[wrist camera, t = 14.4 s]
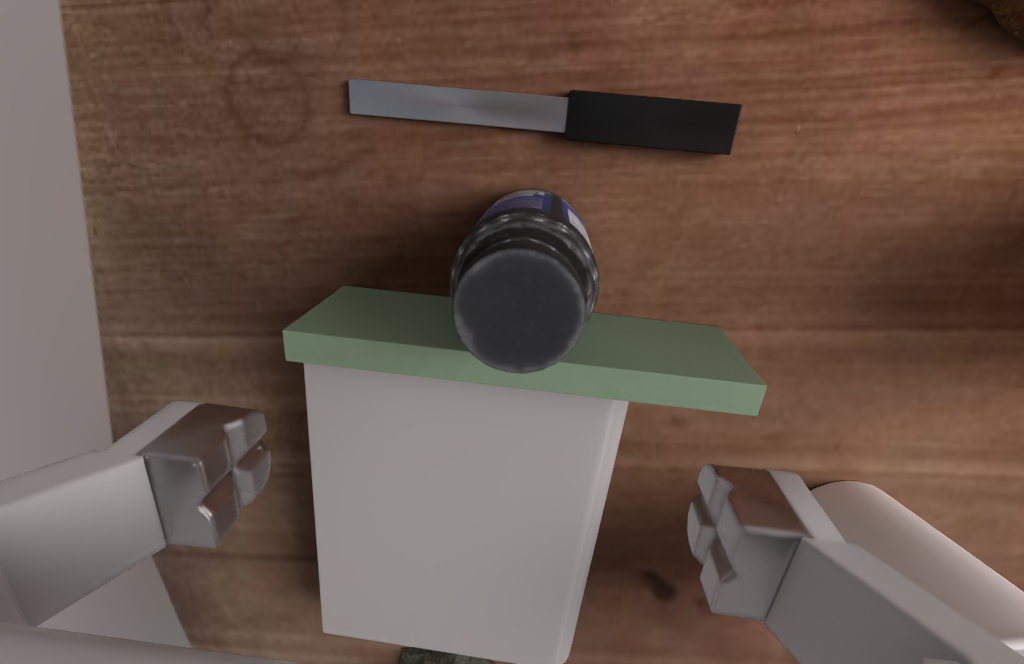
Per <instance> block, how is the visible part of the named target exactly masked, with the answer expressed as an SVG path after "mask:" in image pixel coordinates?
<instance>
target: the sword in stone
mask: <svg viewBox="0 0 1024 664" xmlns="http://www.w3.org/2000/svg"><path fill="white" fill-rule="evenodd" d="M399 664H494V663H492V662H490V661H488V660H486V659H484V658H478V657H472V656H466V655H460V654H454V653H447V652H441V651H435V650H429V649H423V648H403V649H402V653H401V658H400V662H399Z"/></svg>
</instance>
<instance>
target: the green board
mask: <svg viewBox="0 0 1024 664" xmlns="http://www.w3.org/2000/svg"><path fill="white" fill-rule="evenodd" d="M452 302H453V301H452V298H451V297H444V296H435V295H426V294H417V293H408V292H398V291H389V290H380V289H371V288H362V287H353V286H343V287H341V288H340V289H339V290H337V291H336V292H334V293H333V294H332V295H330V296H329V297H328V298H326V299H325V300H323V301H322V302H321V303H319V304H318V305H317V306H315V307H314V308H312V309H311V310H310V311H308V312H307V313H306V314H304V315H303V316H301V317H300V318H299V319H297V320H296V321H295V322H293V323H292V324H290V325H289V326H288V327H286V328H285V329H284V330H282V333H283V342H284V351H285V360H286V361H291V362H300V363H308V364H317V365H325V366H334V367H342V368H351V369H359V370H368V371H376V372H385V373H393V374H402V375H410V376H419V377H427V378H436V379H444V380H453V381H461V382H470V383H478V384H487V385H495V386H504V387H512V388H521V389H529V390H538V391H546V392H555V393H563V394H572V395H580V396H589V397H597V398H606V399H614V400H623V401H631V402H640V403H648V404H657V405H665V406H674V407H682V408H690V409H699V410H707V411H716V412H724V413H733V414H741V415H750V416H757V415H758V412H759V409H760V406H761V403H762V400H763V397H764V394H765V391H766V388H767V385H766V384H765V383H764V382H763V380H762V379H761V378H760V377H759V375H758V374H757V373H756V372H755V370H754V369H753V368H752V367H751V366H750V364H749V363H748V362H747V361H746V359H745V358H744V357H743V356H742V354H741V353H740V352H739V351H738V350H737V348H736V347H735V346H734V345H733V343H732V342H731V341H730V340H729V338H728V337H727V336H726V335H725V333H724V332H723V331H722V330H721V329H720V327H719V326H710V325H701V324H692V323H683V322H673V321H664V320H655V319H646V318H637V317H628V316H618V315H609V314H600V313H592V315H591V317H590V319H589V320H588V322H587V324H586V325H585V326H584V328H583V331H582V334H581V336H580V338H579V340H578V342H577V344H576V345H575V346H574V348H573V349H572V350H571V351H570V352H569V354H568V355H567V356H565V357H564V358H563V359H562V360H561V361H559V362H558V363H556V364H554V365H553V366H550V367H548V368H546V369H544V370H541V371H538V372H532V373H522V374H519V373H510V372H504V371H501V370H497V369H494V368H492V367H489V366H488V365H486V364H484V363H482V362H481V361H480V360H478V359H477V358H476V357H474V356H473V355H472V354H471V353H470V352H469V351H468V350H467V348H466V347H465V346H464V344H463V343H462V342H461V340H460V338H459V336H458V334H457V332H456V329H455V326H454V321H453V317H452Z"/></svg>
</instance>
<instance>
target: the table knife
mask: <svg viewBox="0 0 1024 664" xmlns="http://www.w3.org/2000/svg"><path fill="white" fill-rule="evenodd" d="M349 99H350V113H351V114H360V115H371V116H382V117H393V118H404V119H415V120H426V121H437V122H448V123H459V124H470V125H481V126H492V127H503V128H514V129H525V130H536V131H547V132H558V133H565V140H572V141H583V142H594V143H605V144H616V145H627V146H637V147H648V148H659V149H670V150H681V151H692V152H703V153H714V154H725V155H730V154H731V150H732V146H733V142H734V138H735V134H736V130H737V126H738V122H739V118H740V114H741V110H742V105H740V104H728V103H716V102H705V101H693V100H682V99H670V98H659V97H647V96H635V95H624V94H612V93H601V92H589V91H578V90H571V91H570V97H569V98H568V97H556V96H545V95H533V94H522V93H510V92H499V91H487V90H476V89H465V88H453V87H442V86H430V85H419V84H407V83H396V82H384V81H373V80H361V79H350V78H349Z"/></svg>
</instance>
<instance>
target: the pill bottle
mask: <svg viewBox="0 0 1024 664" xmlns="http://www.w3.org/2000/svg"><path fill="white" fill-rule="evenodd" d="M449 281H450V282H449V284H450V294H451V298H452V301H453V302H452V317H453V321H454V326H455V329H456V332H457V334H458V336H459V338H460V340H461V342H462V343H463V344H464V346H465V347H466V348H467V350H468V351H469V352H470V353H471V354H472V355H473V356H474V357H476V358H477V359H478V360H480V361H481V362H482V363H484V364H486V365H488V366H489V367H492V368H494V369H497V370H501V371H504V372H510V373H519V374H522V373H532V372H538V371H541V370H544V369H546V368H548V367H550V366H553V365H554V364H556V363H558V362H559V361H561V360H562V359H563V358H564V357H565V356H567V355H568V354H569V352H570V351H571V350H572V349H573V348H574V346H575V345H576V344H577V342H578V340H579V338H580V336H581V334H582V331H583V328H584V326H585V325H586V324H587V322H588V320H589V319H590V317H591V315H592V313H593V311H594V307H595V305H596V303H597V299H598V293H599V274H598V269H597V264H596V260H595V257H594V254H593V251H592V248H591V245H590V242H589V238H588V235H587V232H586V229H585V227H584V223H583V221H582V218H581V217H580V215H579V214H578V213H577V211H576V210H575V209H574V208H573V207H572V206H571V205H570V204H569V203H568V202H566V201H565V200H563V199H562V198H561V197H560V196H558V195H556V194H554V193H552V192H549V191H546V190H541V189H522V190H518V191H515V192H512V193H510V194H507V195H505V196H503V197H501V198H499V199H498V200H497V201H496V202H494V203H493V204H492V205H491V206H490V207H489V208H488V209H487V211H486V212H485V214H484V215H483V216H482V217H481V218H480V220H479V221H478V222H477V224H476V225H475V226H474V227H473V228H472V230H471V231H470V232H469V233H468V235H467V236H466V237H465V238H464V239H463V241H462V242H461V244H460V246H459V248H458V250H457V251H456V254H455V256H454V258H453V262H452V266H451V271H450V280H449Z"/></svg>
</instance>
